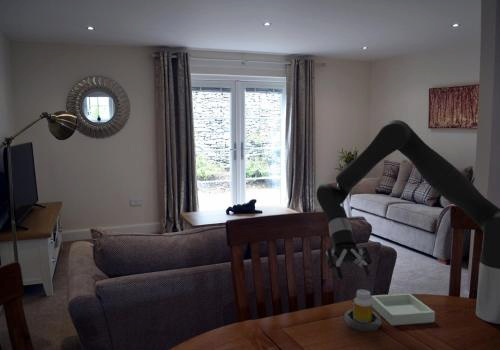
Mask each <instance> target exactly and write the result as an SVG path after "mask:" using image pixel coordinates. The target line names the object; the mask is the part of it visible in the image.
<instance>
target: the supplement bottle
mask: <svg viewBox="0 0 500 350" xmlns="http://www.w3.org/2000/svg"><path fill="white" fill-rule="evenodd" d="M355 294H356V297H354V299H353V309H354V312H353V317H352V320H355V321H358V322H361V323H370V322H373V319H372V311H373V307H372V300H371V292H370V291H369V290H366V289H362V288H361V289H357V290H356V293H355Z"/></svg>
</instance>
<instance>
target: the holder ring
mask: <svg viewBox="0 0 500 350" xmlns="http://www.w3.org/2000/svg"><path fill="white" fill-rule="evenodd" d="M353 312H354V308H350V309H348V310H346V312H345V313H344V314H343V321H344V322H345V324H346V325H347V326H348V327H349V328H351V329H355V330H357V331H361V332H373V331H377V330H378V329H379V328H380V327H381V325H382V317H380V315H378V314H377V312H375V311H373V310H372V322H370V323H361V322H358V321H355V320H353Z"/></svg>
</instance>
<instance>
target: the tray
mask: <svg viewBox="0 0 500 350" xmlns="http://www.w3.org/2000/svg"><path fill="white" fill-rule="evenodd" d="M370 299H371V300H372V309H374V310H375V311H376V313H378V314H379V316H381V318H382V319H383V318H384V320H385V321H386V322H387V323H389V325H391V326H400V325H401V326H402V325H413V324H415V325H416V324H427V323H435V318H436V311H434V310H433V309H432V308H431V307H429V306H427V305H426V304H425V303H423V302H422V301H421V300H420V299H419V298H416V297H415V296H414V295H413V294H411V293H409V292H408V293H391V294H377V295H370Z"/></svg>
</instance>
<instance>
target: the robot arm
mask: <svg viewBox="0 0 500 350" xmlns="http://www.w3.org/2000/svg"><path fill="white" fill-rule="evenodd" d="M396 151H399V153H401V154H402V155H403V156H404V157H406V158H407V159H408V160H409V161H410V162H411V163H412V165H413V166H414V167H415V168H416V170H417V172H418V173H419V174H420V176H421V177H422V179H424V181H425V182H426V183H427V184H428V186H430V188H432V189H433V190H435V191H436V193H438V194H439V195H440V196H441V197H443V198H444V199H445V200H447V201H448V202H450V203H451V204H453V205H454V206H456V207H457V208H458V209H460V210H462V211H463V212H464V213H465V214H467V215H468V216H469V217H470V218H471V219H472V220H473V222H474V223H475V224H476V225H477V227H479V228H480V230H481V231H482V232H483V242H482V248H481V249H482V251H481V253H479V254H480V257H479V266H478V281H477V291H476V292H477V295H476V307H475V315H476V316H477V317H478V318H479V319H481V320H483V321H484V322H488V323H491V324H497V325H498V324H499V325H500V208H499V207H498V206H497V205H495V204H494V203H492V202H491V201H490V200H489V199H487V198H486V196H484V195H482V193H481V192H480V191H479V190H478V189H477V188H476V186H475V184H473V183H472V182H471V181H470V180H469V179H468V177H466V176H465V175H464V174H463V173H462V172H461V171H460V170H459V169H458V168H457V167H455V166H454V165H453V164H452V163H450V162H449V161H448V160H447V159H446V158H445V157H443V156H442V154H441V155H440V154H439V153H438V152H437V151H436V150H434V149H433V148H431V146H429V145H428V144H427V143H426V142H424V140H423V139H422V138H421V137H420V136H419V135H418V134H417V133H416V132H415V131H414V130H413V128H411V126H410V125H409V124H408V123H406V122H405V121H403V120H400V119H394V120H390V121H388V122H387V123H385V124H384V125H383V126H381V128H380V130H379V132H378V133H377V135H376V136H375V137H374V138H373V140H371V143H370V144H369V145H368V146H367V147H366V148H365V149H364V150H363V151H362V152H361V153H360V154H358V155H357V156H356V157H355V158H353V160H351V162H350V163H348V165H346V166H345V167H344V168H343V169H342V170H341V171H340V172H338V174H337V175H336V177H335V181H336V183H337V184H338V185H337V186H335V185H332V184H329V183H322V184H320V185H319V186H318V187H317V189H316V200H317V202H318V204H319V206H320V208H321V209H322V212H323V213H324V215H325V218H326V222H327V224H328V231H329V237H330V240H331V243H332V247H333V249H331V248H327V250H326V251H325V256H326V263H327V268H328V269H329V270H331V269H333V270H334V272H335V276H336V279H337V280H339V281H341V282H342V281H343V280H344V276H343V272H342V268H341V267H340V266H341V264H342V263H343V264H347V263H352V264H353V263H354V264H355V265H357V266H359V267H360V268H361V269H360V270H361V272H362V275H363V279H364V280H368V279H369V277H370V272H369V267H370V266H371V264H372V263H373V261H372V259H371V257H370V256H371V255H370V253H369V249H368V248H367V247H365V246H364V247H363V248H358V247H357V243H356V240H355V237H354V236H355V235H354V233H353V229H352V226H351V224H350V221H349V219H348V214H347V212H346V209H345V208H344V206H342V204H343V203H344V202H345V201H346V199H347V198H348V196H349V195H350V193H351V191H352V190H353V188H354V187H356V185H358V184H359V183H360V182H361V181H362V180H364V178H366V176H367V175H368V174H369V173H370V172H371V171H372V170H373V168H375V167H376V166H377V165H378V164H379V163H380V162H381V161H383V160H384V159H385V158H387V157H388V156H390V155H391V154H392V153H393V154H394V152H396ZM334 255H335V257H336V258H338V259H337V260H336V262H335V263H334V258H333V256H334Z"/></svg>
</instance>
